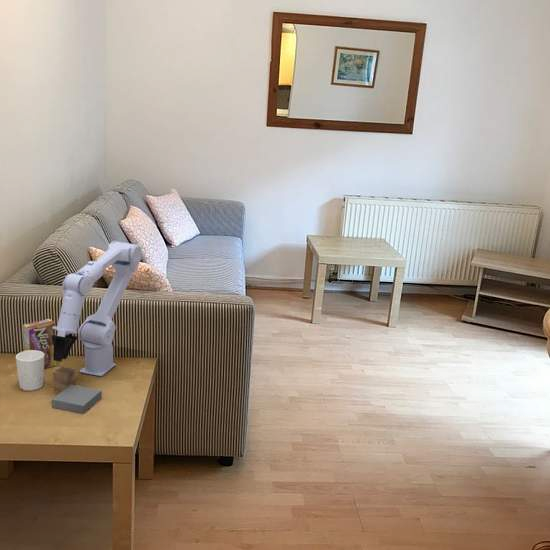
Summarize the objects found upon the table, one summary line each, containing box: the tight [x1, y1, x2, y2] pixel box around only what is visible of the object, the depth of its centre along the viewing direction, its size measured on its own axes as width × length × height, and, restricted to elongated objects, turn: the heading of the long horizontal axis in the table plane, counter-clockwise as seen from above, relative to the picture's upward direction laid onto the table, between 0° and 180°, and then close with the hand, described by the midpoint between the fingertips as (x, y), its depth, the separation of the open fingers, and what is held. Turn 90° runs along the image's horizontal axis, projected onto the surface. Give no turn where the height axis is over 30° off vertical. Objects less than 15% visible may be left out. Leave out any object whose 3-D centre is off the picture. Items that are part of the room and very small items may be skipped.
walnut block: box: [52, 366, 76, 393], centre depth 183 cm, size 4×4×6 cm
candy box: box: [22, 318, 58, 370], centre depth 195 cm, size 9×4×15 cm, turn 138°
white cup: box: [15, 350, 45, 392], centre depth 183 cm, size 8×8×10 cm
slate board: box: [51, 384, 103, 415], centre depth 176 cm, size 10×10×2 cm
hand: (59, 359), depth 179 cm, fingers open, 7 cm apart
